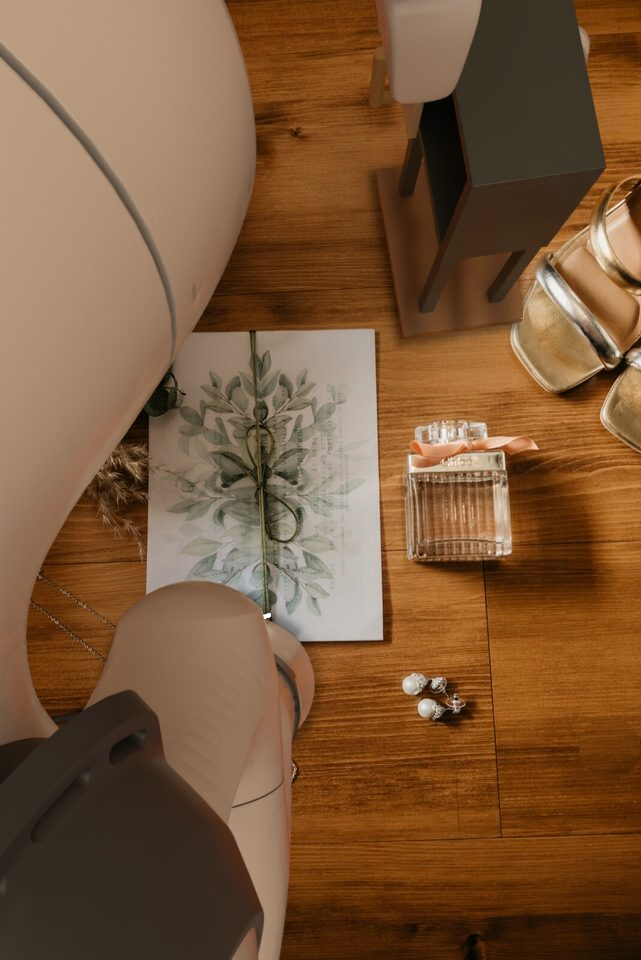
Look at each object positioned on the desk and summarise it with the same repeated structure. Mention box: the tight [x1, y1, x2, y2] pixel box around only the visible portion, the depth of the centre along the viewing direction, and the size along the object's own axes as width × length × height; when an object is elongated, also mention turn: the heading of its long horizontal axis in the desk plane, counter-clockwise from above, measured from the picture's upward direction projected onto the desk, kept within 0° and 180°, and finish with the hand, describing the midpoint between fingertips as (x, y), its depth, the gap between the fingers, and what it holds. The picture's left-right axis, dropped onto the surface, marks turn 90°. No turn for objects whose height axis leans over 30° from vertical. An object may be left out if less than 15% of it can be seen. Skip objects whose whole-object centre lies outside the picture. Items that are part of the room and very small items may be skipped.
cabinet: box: [399, 0, 607, 314], centre depth 68 cm, size 10×16×30 cm, turn 9°
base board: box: [374, 162, 524, 340], centre depth 83 cm, size 14×20×2 cm
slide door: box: [368, 45, 424, 139], centre depth 61 cm, size 4×14×13 cm, turn 9°
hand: (387, 14), depth 49 cm, fingers closed
